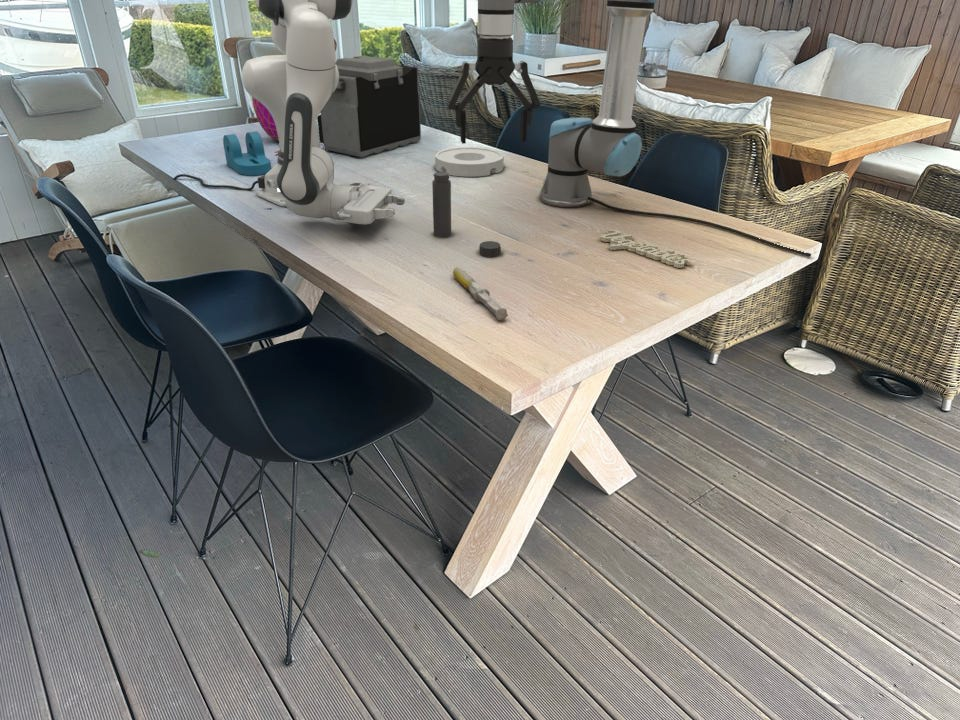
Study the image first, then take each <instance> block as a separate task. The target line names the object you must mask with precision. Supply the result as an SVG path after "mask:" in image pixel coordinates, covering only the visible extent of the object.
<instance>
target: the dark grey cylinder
mask: <svg viewBox="0 0 960 720" xmlns="http://www.w3.org/2000/svg"><path fill="white" fill-rule="evenodd" d="M431 183H432V185H431V187H432V223H433V225H432V226H433V227H432V228H433V236H434V237H436V238H449V237H451V236H452V181H451V180H450V175H449V174H448V173H446V172H439V171H437V172H434V173H433V180H432V182H431Z"/></svg>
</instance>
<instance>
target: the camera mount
mask: <svg viewBox="0 0 960 720" xmlns="http://www.w3.org/2000/svg"><path fill="white" fill-rule="evenodd" d="M222 140H223V141H222V143H223V149H224V150H223V151H224V156H225V161H226V165H227V166H228V167H230V168H231V169H232V170H234V171H236V172H237V173H238V174H239V175H244V176H260V175H261V176H262V175H266V173H267V172H269V171H270V170H271V169H272V164H271V159H270V158H268V157H267V156H266V153H265V145H264V141H263V139H262V136H261V134H260V132H258V131H247V132H246V133H245V146H246V152H243V151H242V150H243V149H242V146H241V142H240V140H239V138H238V135H236V134H235V133H231V134H224V135H223V138H222Z"/></svg>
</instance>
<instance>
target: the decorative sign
mask: <svg viewBox="0 0 960 720" xmlns="http://www.w3.org/2000/svg"><path fill="white" fill-rule="evenodd" d="M600 241H602V242H605V243H609V244H610V245H609V250H610V251H617V250H618V251H619V250H627V251H628V252H634V253H635V254H637V255H640V256H645V257H647V258H649V259H653V260H654V261H660V262H661V263H663V264H666V265H668V266H673V267H674V268H677V269H684V267H685V265H686V266H687V267H688V266H691V259H688V258H685V253H683V252H676V253H675V250H674V249H663V250H660V248H659V246H657V245H656V244H651V243H649V242H643V243H641V242H637V241H633V235H632V234H621V231H620V230H617V229H607V232H606V233H604V234H601V236H600Z"/></svg>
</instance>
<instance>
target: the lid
mask: <svg viewBox="0 0 960 720" xmlns="http://www.w3.org/2000/svg"><path fill="white" fill-rule="evenodd" d="M501 249H502V248H501V244H500V243H499V242H498V241H493V240H486V241H482V242H480V243H479V249H478V253H479V255H481V257H485V258H495V257H498V256H500V255H501V253H502V250H501Z"/></svg>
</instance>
